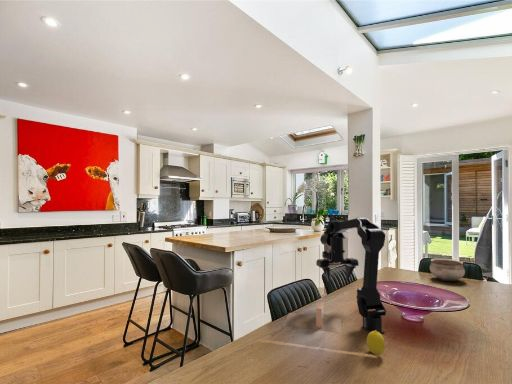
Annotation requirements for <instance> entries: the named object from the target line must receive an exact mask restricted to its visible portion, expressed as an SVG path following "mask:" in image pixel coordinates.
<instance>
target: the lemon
mask: <svg viewBox="0 0 512 384" xmlns="http://www.w3.org/2000/svg"><path fill="white" fill-rule="evenodd" d="M385 343H386V342H385V339H384V337H383V334H382V333H381V334H380V333H379V332H377V331H376V330H374V331H372V332H369V333H368V334H367V336H366V346H367V349H368V351H369V352H370V353H372V354H373V355H374V356H375V357H377V356H379V355H381V354H383V352H384V350H385V348H386V344H385Z"/></svg>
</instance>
